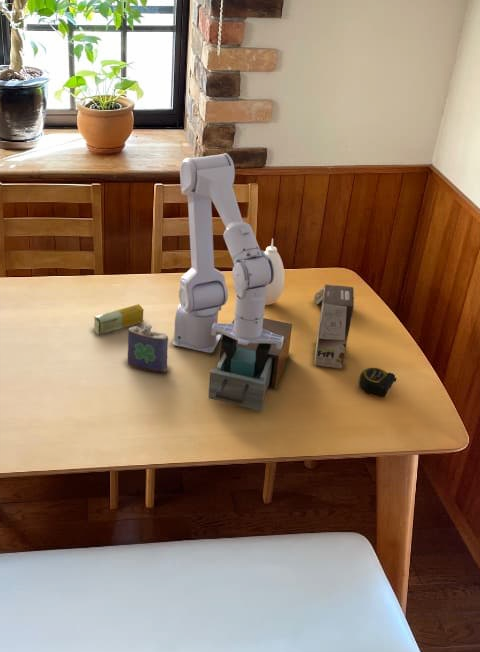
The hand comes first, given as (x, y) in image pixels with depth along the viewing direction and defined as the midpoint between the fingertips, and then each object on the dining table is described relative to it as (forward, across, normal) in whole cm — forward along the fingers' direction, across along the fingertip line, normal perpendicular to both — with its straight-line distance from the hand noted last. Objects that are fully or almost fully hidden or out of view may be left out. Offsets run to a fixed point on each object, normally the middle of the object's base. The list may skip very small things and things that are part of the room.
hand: (244, 369), depth 166 cm
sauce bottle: (+6, -4, +38) cm, 39 cm away
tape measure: (+6, +27, +11) cm, 30 cm away
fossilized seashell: (+6, +12, +42) cm, 44 cm away
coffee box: (+6, +15, +20) cm, 26 cm away
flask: (+6, -22, +1) cm, 23 cm away
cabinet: (+6, 0, +10) cm, 12 cm away
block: (+1, 0, 0) cm, 1 cm away
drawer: (+5, 0, -3) cm, 6 cm away
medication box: (+6, -34, +14) cm, 37 cm away
